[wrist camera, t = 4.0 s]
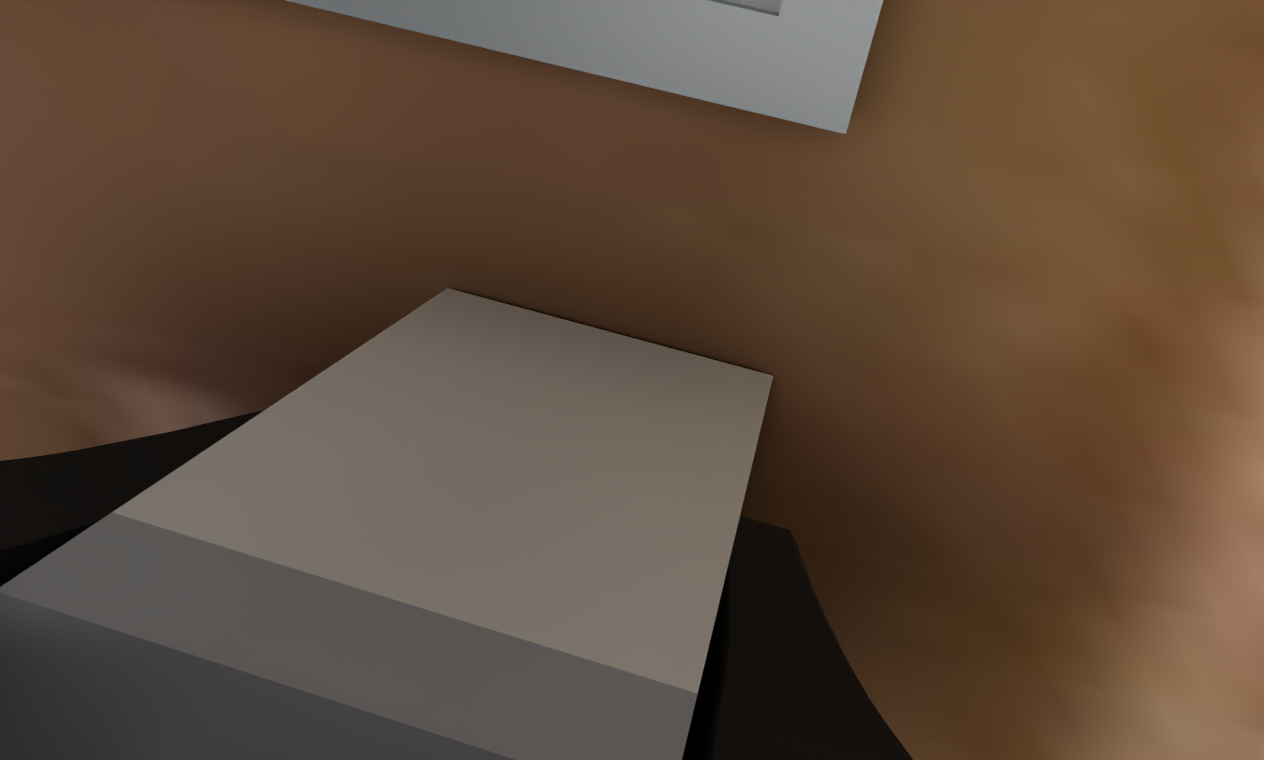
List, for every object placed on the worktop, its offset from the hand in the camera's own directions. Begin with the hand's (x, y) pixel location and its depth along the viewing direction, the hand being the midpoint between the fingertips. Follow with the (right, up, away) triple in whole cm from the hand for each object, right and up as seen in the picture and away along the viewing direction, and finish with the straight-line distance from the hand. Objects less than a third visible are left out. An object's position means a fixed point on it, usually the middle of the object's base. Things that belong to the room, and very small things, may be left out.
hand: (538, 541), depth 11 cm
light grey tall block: (0, +1, +2) cm, 2 cm away
